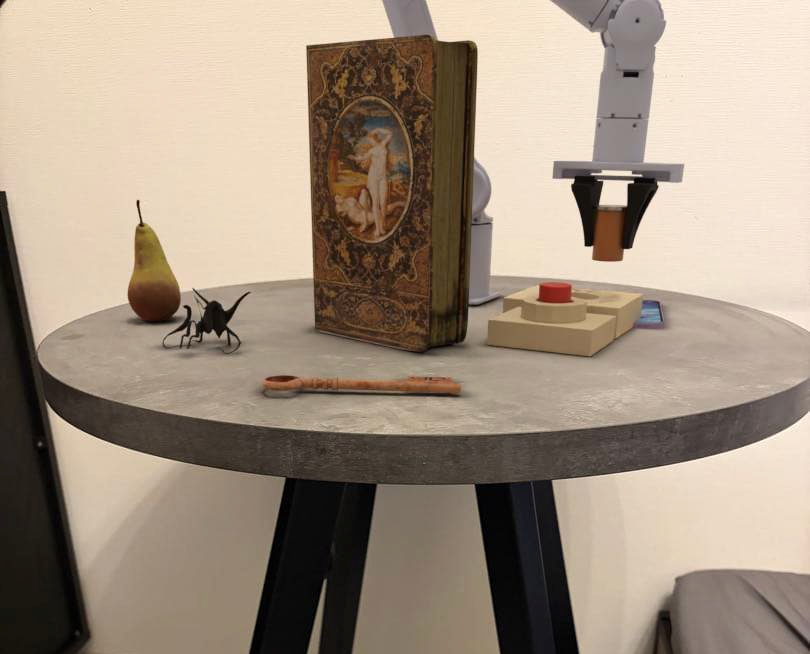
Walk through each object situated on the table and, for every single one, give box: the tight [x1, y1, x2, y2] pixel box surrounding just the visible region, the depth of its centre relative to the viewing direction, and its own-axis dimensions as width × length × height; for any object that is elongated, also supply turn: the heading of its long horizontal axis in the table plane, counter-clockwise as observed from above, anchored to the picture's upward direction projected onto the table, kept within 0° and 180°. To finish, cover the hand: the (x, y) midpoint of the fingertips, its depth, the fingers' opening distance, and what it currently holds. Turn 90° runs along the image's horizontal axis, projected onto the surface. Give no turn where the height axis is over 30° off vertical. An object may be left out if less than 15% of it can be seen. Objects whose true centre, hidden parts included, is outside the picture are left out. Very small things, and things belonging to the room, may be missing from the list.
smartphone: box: [631, 299, 665, 330], centre depth 97 cm, size 7×1×15 cm
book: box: [305, 35, 479, 353], centre depth 79 cm, size 16×6×25 cm, turn 47°
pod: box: [591, 204, 627, 263], centre depth 102 cm, size 4×4×6 cm
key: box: [261, 374, 462, 394], centre depth 66 cm, size 6×1×15 cm
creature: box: [162, 287, 252, 355], centre depth 79 cm, size 8×5×8 cm
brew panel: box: [486, 295, 616, 357], centre depth 82 cm, size 10×8×4 cm
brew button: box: [538, 281, 573, 303], centre depth 81 cm, size 3×3×2 cm
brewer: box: [502, 284, 644, 340], centre depth 91 cm, size 12×10×3 cm
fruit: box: [127, 199, 182, 322], centre depth 89 cm, size 6×6×12 cm
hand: (608, 247), depth 102 cm, fingers closed on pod, 4 cm apart
